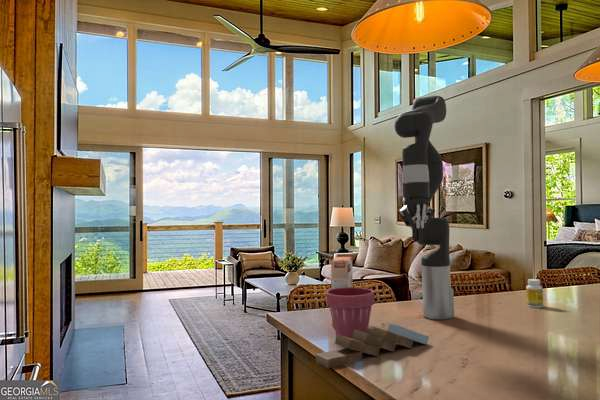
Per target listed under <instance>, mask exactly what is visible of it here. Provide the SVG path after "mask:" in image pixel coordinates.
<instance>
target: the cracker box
mask: <svg viewBox="0 0 600 400" xmlns="http://www.w3.org/2000/svg"><path fill="white" fill-rule="evenodd" d="M330 266H331V268H330V272H331V275H330V276H331V277H330V278H331V289H334V288H343V287H354V283H353V281H354V280H353V278H354V277H353V257H352V256H336V257H335V258H333V259H332V260H331V261H330ZM331 324H332V325H331V326H332V327H334V324H333V320H332V319H331Z"/></svg>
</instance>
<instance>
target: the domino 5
mask: <svg viewBox="0 0 600 400" xmlns="http://www.w3.org/2000/svg"><path fill="white" fill-rule="evenodd" d="M386 331H389V332H392V333H395V334H397V335H400V336H403V337H406V338H409V339H412V340H414V341H413V342H417V343H419V344H423V345H428V341H429V340H430V339H429V338H430V336H428V335H425V334H423V333H420V332H417V331H414V330H412V329H408V328H406V327H403V326H401V325H397V324H393V323H388V326H387V330H386Z"/></svg>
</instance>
